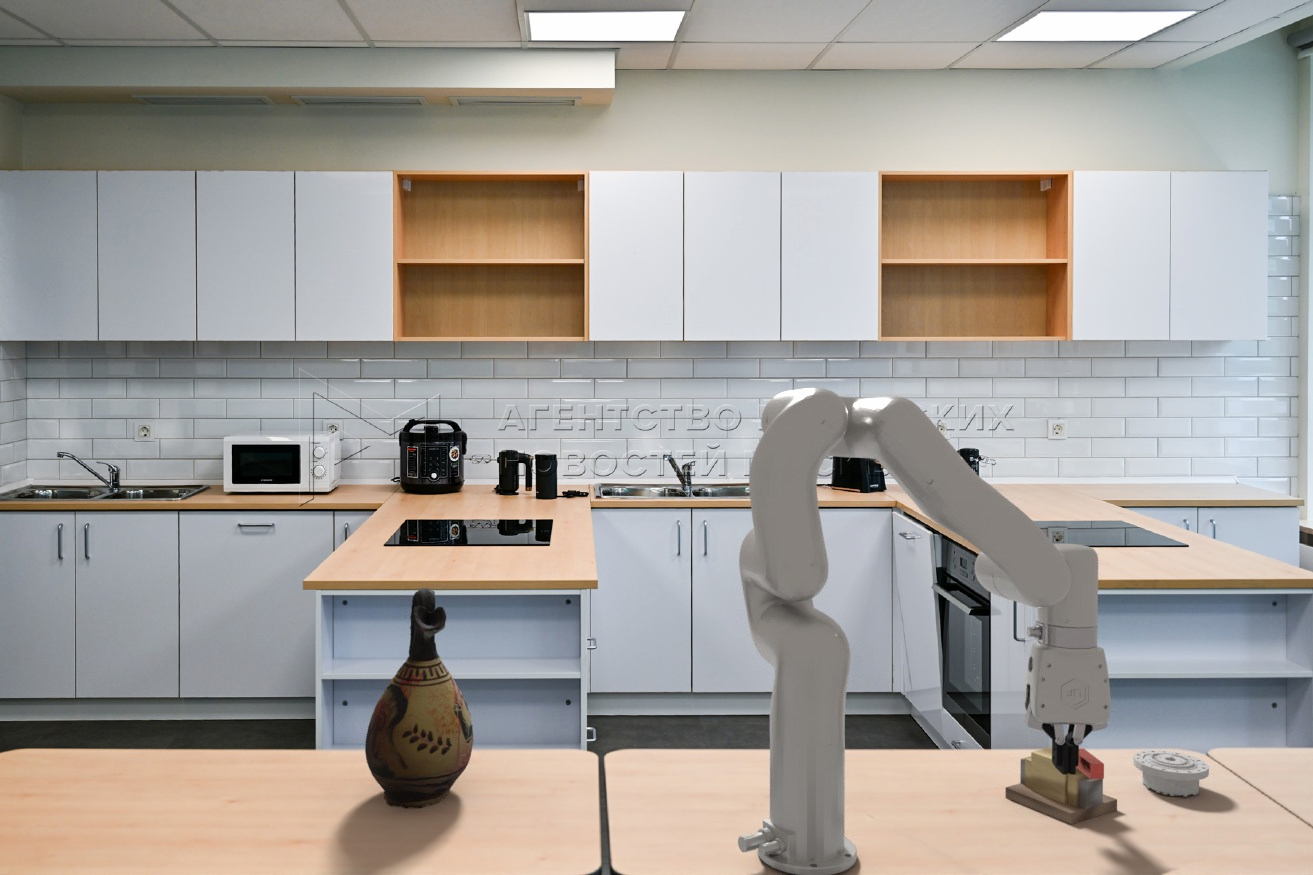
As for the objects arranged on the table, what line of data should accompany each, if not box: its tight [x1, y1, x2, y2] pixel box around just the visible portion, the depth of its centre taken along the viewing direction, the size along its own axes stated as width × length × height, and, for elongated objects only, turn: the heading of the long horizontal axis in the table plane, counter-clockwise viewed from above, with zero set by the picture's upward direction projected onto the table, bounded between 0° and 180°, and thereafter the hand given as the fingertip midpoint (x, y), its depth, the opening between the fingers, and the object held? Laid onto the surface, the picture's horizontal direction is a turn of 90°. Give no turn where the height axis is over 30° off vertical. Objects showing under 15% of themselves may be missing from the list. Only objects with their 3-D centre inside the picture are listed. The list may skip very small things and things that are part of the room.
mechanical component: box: [1133, 749, 1210, 798], centre depth 145 cm, size 10×4×10 cm
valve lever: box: [1076, 748, 1105, 780], centre depth 134 cm, size 12×2×2 cm, turn 0°
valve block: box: [1005, 746, 1118, 825], centre depth 139 cm, size 10×11×7 cm
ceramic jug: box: [364, 587, 474, 809], centre depth 143 cm, size 17×15×30 cm
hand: (1065, 770), depth 131 cm, fingers closed
